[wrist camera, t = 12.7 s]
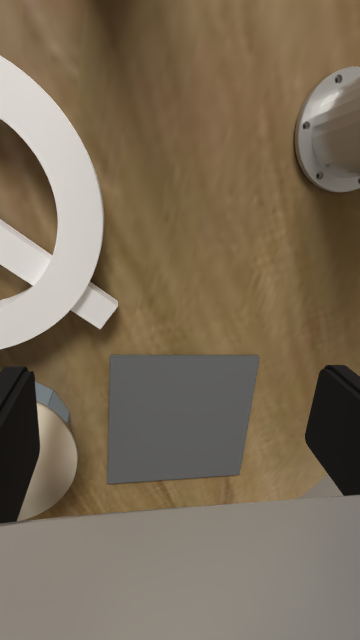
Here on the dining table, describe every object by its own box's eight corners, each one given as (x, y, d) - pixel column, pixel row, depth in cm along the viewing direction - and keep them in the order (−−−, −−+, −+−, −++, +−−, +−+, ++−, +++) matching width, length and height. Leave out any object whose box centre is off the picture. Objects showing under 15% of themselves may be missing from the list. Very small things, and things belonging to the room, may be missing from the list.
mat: (258, 355, 47) (259, 356, 46) (238, 472, 53) (239, 474, 52) (110, 354, 43) (110, 356, 42) (107, 481, 49) (107, 483, 48)
